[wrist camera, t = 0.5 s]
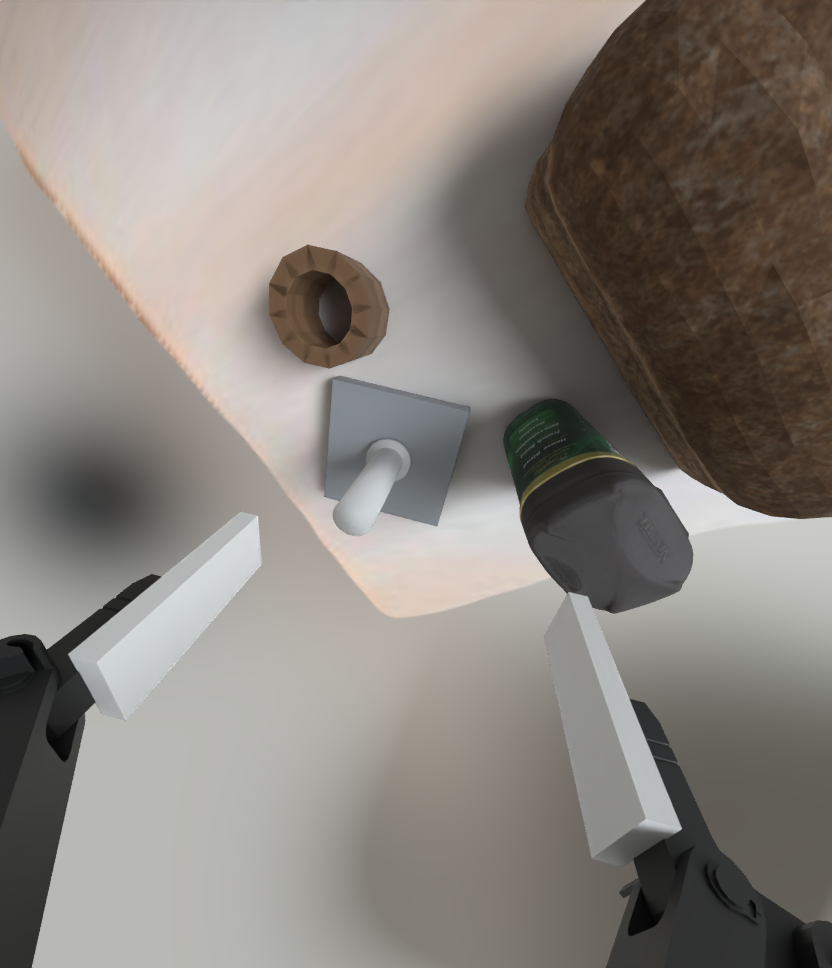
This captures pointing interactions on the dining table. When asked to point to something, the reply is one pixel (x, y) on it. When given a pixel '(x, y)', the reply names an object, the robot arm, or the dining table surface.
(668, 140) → the bread
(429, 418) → the post block
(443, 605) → the dining table surface
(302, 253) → the ring
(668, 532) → the coffee jar
